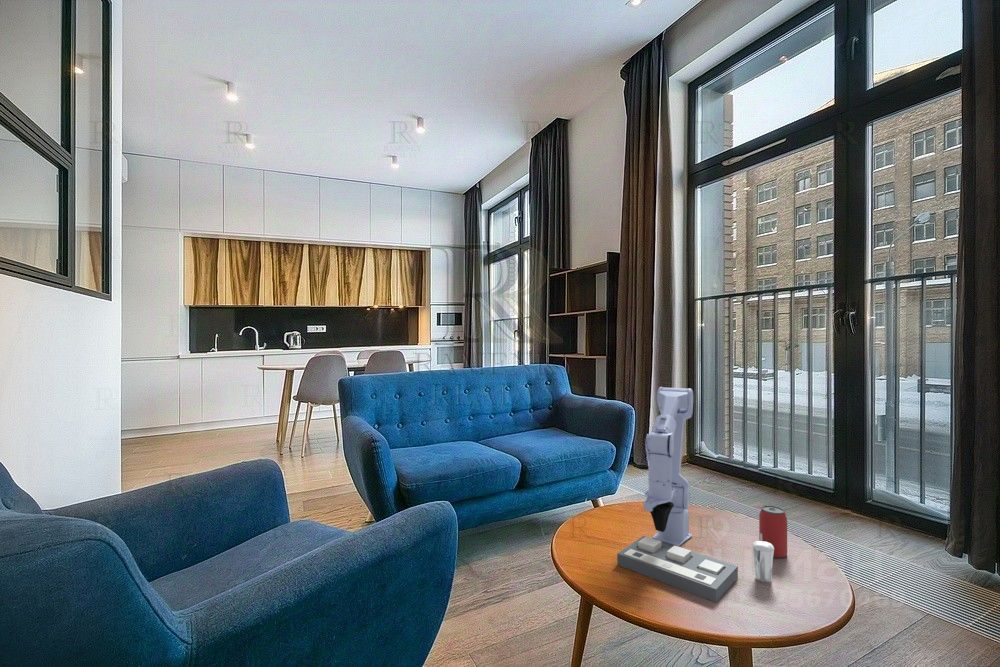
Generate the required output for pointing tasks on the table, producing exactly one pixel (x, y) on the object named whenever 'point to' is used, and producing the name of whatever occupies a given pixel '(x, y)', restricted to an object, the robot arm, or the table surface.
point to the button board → (679, 570)
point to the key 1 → (649, 544)
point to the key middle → (679, 554)
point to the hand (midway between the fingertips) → (660, 530)
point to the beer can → (774, 529)
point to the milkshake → (763, 560)
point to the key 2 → (711, 567)
